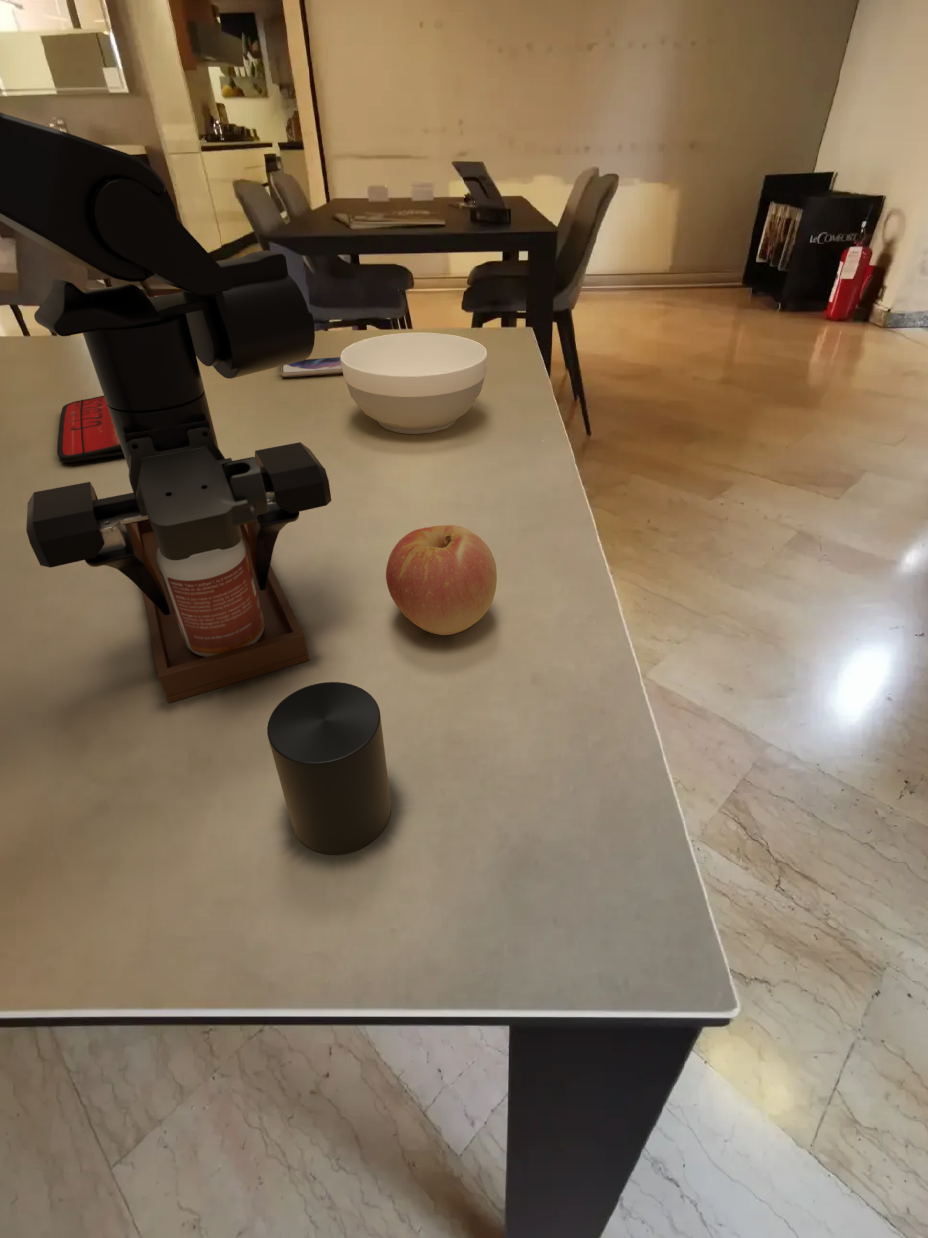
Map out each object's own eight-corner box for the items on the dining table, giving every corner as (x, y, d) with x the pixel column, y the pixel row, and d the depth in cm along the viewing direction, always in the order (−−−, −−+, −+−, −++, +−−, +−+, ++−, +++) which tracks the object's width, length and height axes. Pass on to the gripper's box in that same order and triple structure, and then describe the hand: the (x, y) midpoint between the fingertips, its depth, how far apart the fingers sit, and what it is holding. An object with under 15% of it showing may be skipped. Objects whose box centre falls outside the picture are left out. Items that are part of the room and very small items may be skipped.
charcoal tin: (274, 842, 39) (246, 751, 34) (316, 764, 44) (296, 673, 39) (371, 864, 38) (356, 773, 33) (403, 781, 42) (395, 690, 37)
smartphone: (281, 360, 109) (373, 354, 111) (282, 365, 109) (373, 359, 112) (280, 373, 103) (377, 366, 105) (281, 379, 104) (377, 372, 106)
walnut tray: (309, 660, 52) (304, 634, 50) (168, 703, 48) (158, 676, 46) (240, 514, 70) (235, 492, 68) (135, 537, 66) (127, 514, 65)
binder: (177, 377, 98) (195, 428, 82) (182, 393, 99) (200, 446, 84) (58, 398, 93) (54, 457, 78) (65, 415, 94) (62, 475, 79)
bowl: (336, 403, 96) (328, 339, 90) (461, 388, 100) (461, 327, 95) (362, 455, 81) (355, 383, 76) (507, 435, 86) (509, 366, 81)
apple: (429, 667, 51) (424, 581, 46) (371, 611, 57) (361, 528, 52) (517, 625, 55) (521, 541, 50) (454, 576, 61) (453, 497, 56)
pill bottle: (282, 632, 53) (254, 509, 47) (216, 672, 50) (176, 545, 43) (235, 603, 57) (203, 484, 50) (169, 639, 53) (125, 515, 46)
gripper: (-29, 478, 32) (86, 707, 42) (342, 413, 39) (367, 624, 48) (-14, 404, 40) (80, 611, 50) (292, 360, 47) (322, 550, 56)
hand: (215, 599), depth 51 cm, fingers open, 7 cm apart
